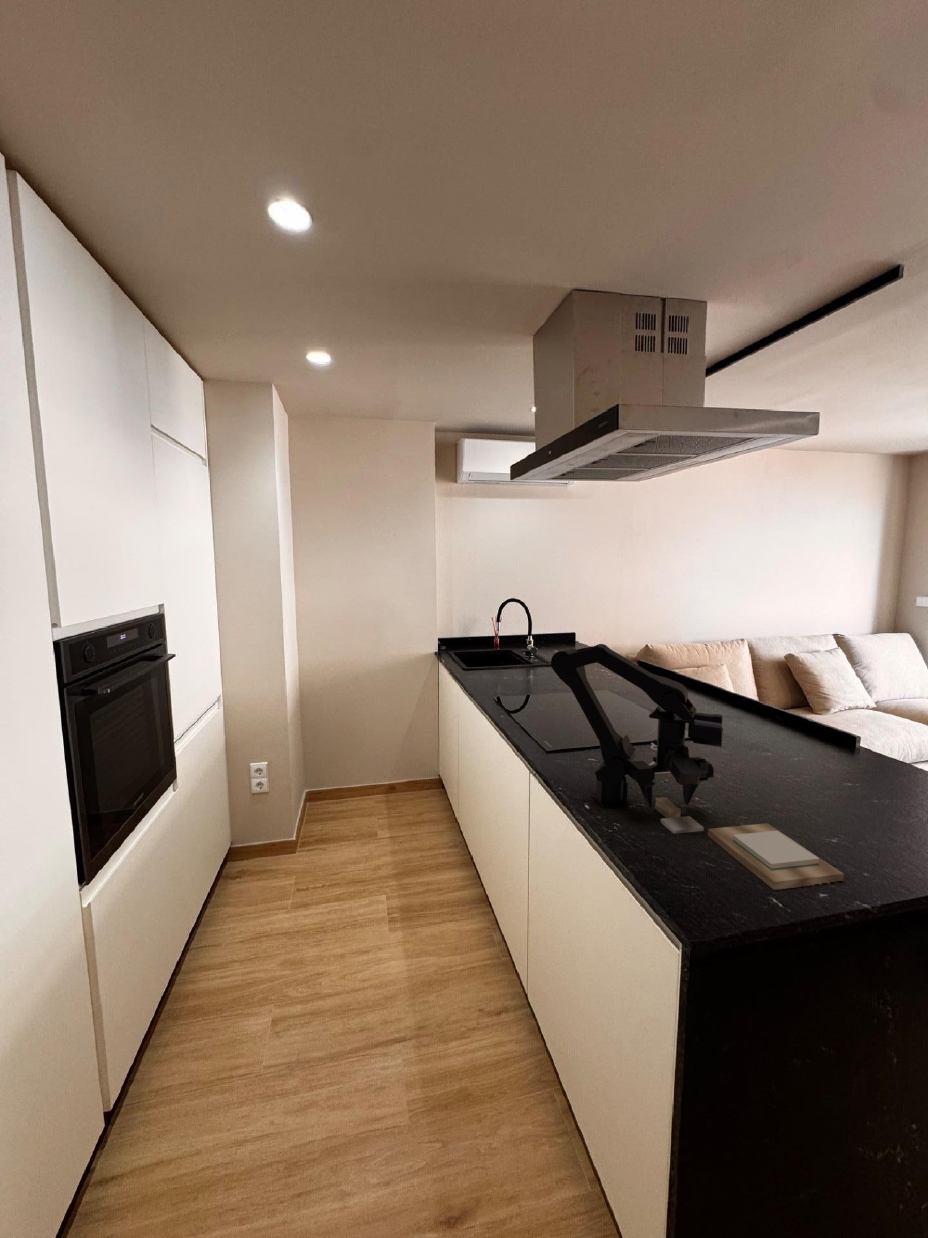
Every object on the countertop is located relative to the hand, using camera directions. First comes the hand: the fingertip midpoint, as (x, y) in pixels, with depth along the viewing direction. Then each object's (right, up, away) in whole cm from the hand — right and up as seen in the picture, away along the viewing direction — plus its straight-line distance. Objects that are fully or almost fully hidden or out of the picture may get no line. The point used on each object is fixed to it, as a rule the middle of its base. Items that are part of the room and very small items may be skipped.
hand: (667, 805), depth 115 cm
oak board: (+13, -4, -17) cm, 22 cm away
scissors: (+12, +1, +35) cm, 37 cm away
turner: (0, -2, -2) cm, 3 cm away
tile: (+13, -2, -18) cm, 22 cm away
